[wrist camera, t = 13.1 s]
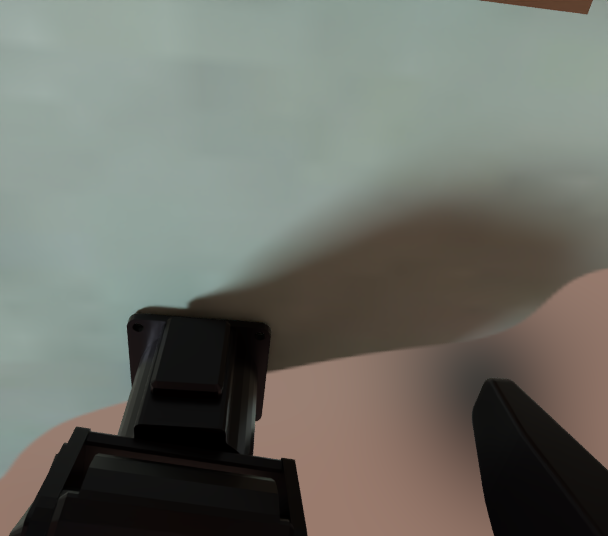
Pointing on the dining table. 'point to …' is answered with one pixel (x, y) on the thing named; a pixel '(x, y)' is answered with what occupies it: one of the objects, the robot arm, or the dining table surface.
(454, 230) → the dining table surface
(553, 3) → the walnut plinth
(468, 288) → the dining table surface
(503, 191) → the dining table surface
